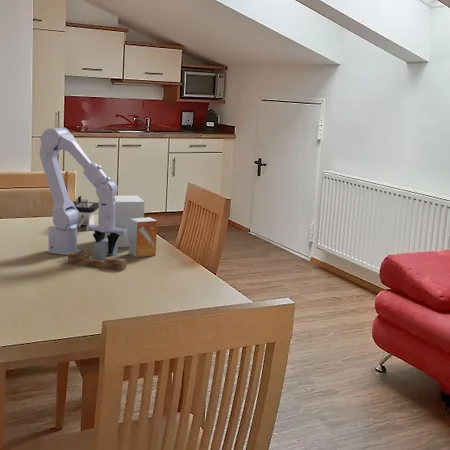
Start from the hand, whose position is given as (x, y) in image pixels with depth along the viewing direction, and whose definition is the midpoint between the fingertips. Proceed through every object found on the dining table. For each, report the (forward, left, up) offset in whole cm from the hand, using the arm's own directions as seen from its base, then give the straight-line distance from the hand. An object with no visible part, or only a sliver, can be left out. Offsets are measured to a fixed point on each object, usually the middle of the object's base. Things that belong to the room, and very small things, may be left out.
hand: (106, 253), depth 227 cm
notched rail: (+2, -11, -1) cm, 11 cm away
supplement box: (-3, +21, -2) cm, 21 cm away
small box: (+10, +9, -2) cm, 14 cm away
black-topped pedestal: (-28, +36, -2) cm, 45 cm away
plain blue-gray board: (0, 0, -1) cm, 1 cm away
